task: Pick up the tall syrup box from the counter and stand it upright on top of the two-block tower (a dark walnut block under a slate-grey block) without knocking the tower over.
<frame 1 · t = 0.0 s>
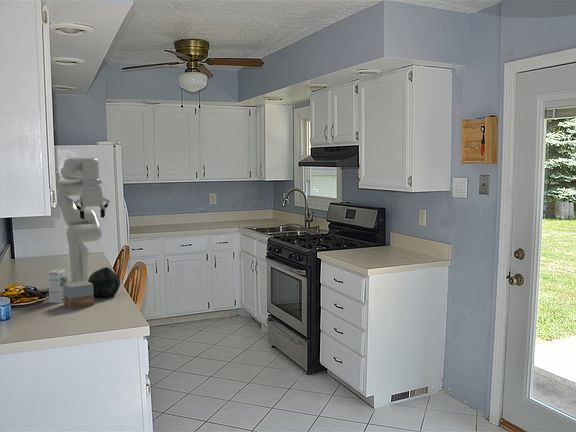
hand: (92, 218, 260), 37 cm above the table, tool pointing down, fingers open, 9 cm apart
squash: (104, 296, 255), on the table
bottom block: (79, 305, 238), on the table, touching top block
syrup box: (58, 301, 245), on the table
top block: (78, 294, 237), point 5 cm above the table, touching bottom block
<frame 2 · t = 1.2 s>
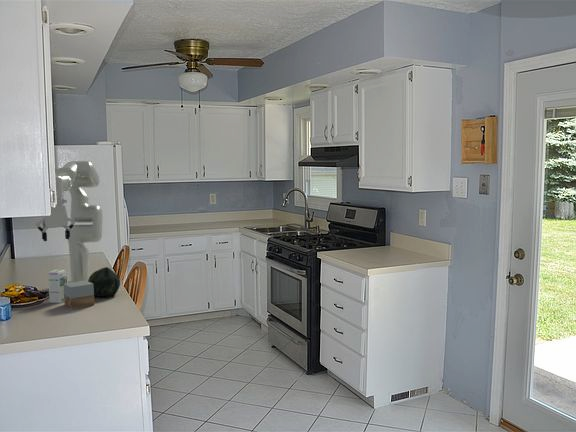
hand: (56, 240, 242), 29 cm above the table, tool pointing down, fingers open, 9 cm apart
nothing on the table moved.
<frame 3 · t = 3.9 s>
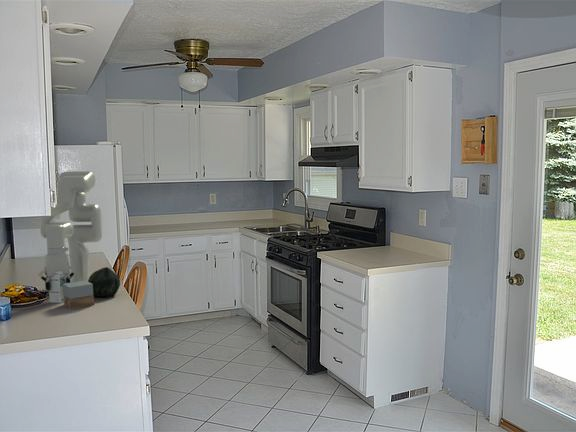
hand: (58, 288, 244), 6 cm above the table, tool pointing down, fingers closed on syrup box, 8 cm apart
syrup box: (58, 301, 245), on the table, touching gripper
everything else where it was.
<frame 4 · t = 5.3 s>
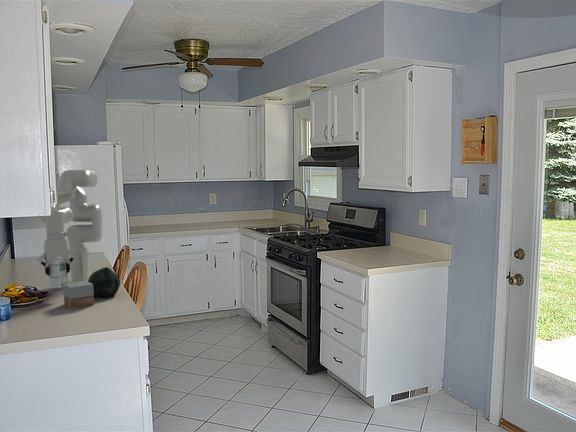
hand: (57, 273, 244), 13 cm above the table, tool pointing down, fingers closed on syrup box, 8 cm apart
syrup box: (58, 286, 245), point 7 cm above the table, touching gripper
everything else where it was.
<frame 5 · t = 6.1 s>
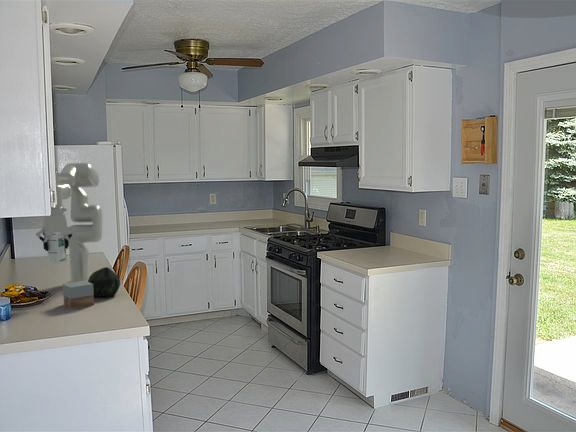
hand: (56, 249, 243), 24 cm above the table, tool pointing down, fingers closed on syrup box, 8 cm apart
bottom block: (78, 305, 238), on the table
syrup box: (57, 262, 244), point 18 cm above the table, touching gripper
top block: (78, 294, 237), point 5 cm above the table
everything else where it was.
when the fingers open (18 cm above the table, at t = 10.0 s): syrup box drops 2 cm, point 10 cm above the table.
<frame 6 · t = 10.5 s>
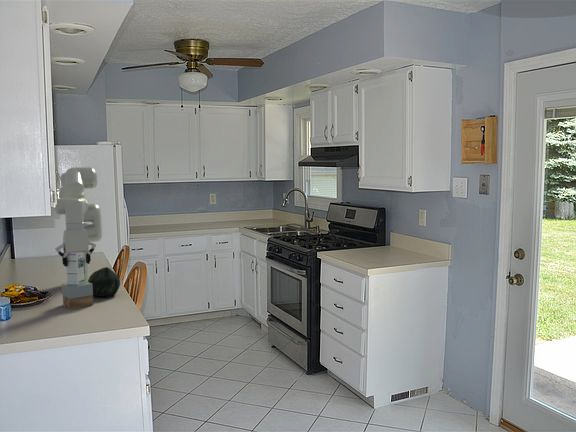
hand: (76, 264, 236), 18 cm above the table, tool pointing down, fingers open, 9 cm apart
syrup box: (76, 284, 237), point 10 cm above the table, touching gripper
everything else where it was.
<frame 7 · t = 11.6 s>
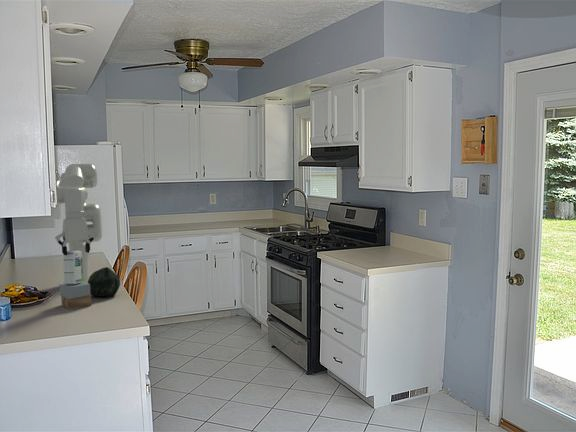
hand: (76, 253, 236), 23 cm above the table, tool pointing down, fingers open, 9 cm apart
bottom block: (76, 305, 237), on the table, touching top block
syrup box: (73, 283, 237), point 10 cm above the table, touching gripper, top block
top block: (75, 295, 237), point 5 cm above the table, touching bottom block, syrup box
everything else where it was.
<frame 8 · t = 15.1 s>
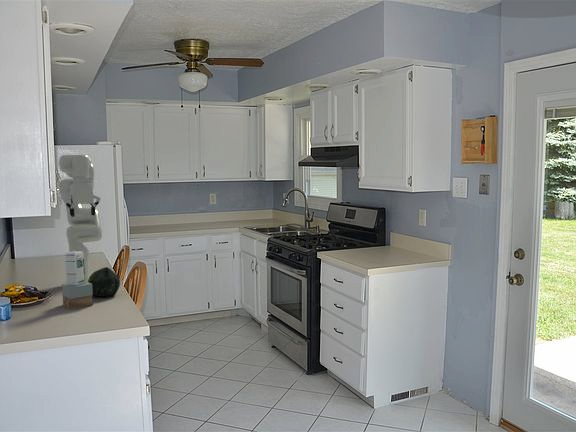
hand: (83, 216, 256), 38 cm above the table, tool pointing down, fingers open, 9 cm apart
bottom block: (77, 305, 238), on the table
syrup box: (76, 284, 237), point 10 cm above the table, touching top block
top block: (77, 294, 237), point 5 cm above the table, touching syrup box
everything else where it was.
at the end: syrup box 0.4 cm off-centre on the top block, point 4.9 cm above the top block's base; syrup box tilted 1°; top block point 4.7 cm above the table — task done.
